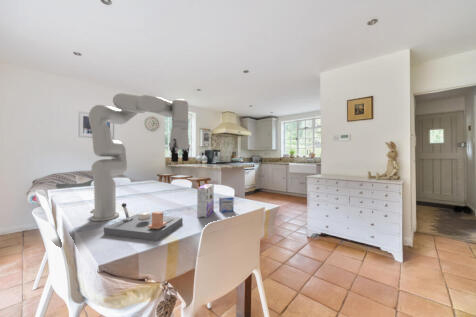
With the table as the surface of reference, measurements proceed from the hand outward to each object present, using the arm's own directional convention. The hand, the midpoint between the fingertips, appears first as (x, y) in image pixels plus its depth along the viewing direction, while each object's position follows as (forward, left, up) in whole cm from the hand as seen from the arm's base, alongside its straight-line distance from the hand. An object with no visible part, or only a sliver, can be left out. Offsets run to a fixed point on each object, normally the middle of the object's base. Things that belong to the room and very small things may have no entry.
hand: (180, 161), depth 94 cm
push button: (-14, -8, -27) cm, 31 cm away
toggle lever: (-23, -8, -27) cm, 36 cm away
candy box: (+5, +20, -32) cm, 38 cm away
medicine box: (+15, +28, -32) cm, 45 cm away
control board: (-13, -8, -31) cm, 35 cm away
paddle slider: (-4, -12, -28) cm, 30 cm away
